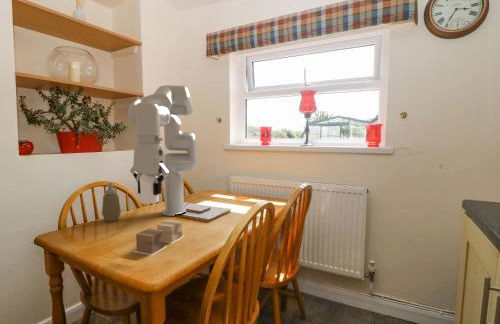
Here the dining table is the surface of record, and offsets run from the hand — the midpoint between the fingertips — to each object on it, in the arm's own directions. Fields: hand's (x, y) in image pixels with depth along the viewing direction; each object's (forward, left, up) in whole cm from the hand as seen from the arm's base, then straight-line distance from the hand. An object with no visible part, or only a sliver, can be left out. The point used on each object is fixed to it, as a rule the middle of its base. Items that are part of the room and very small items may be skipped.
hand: (149, 193), depth 95 cm
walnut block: (0, 0, -20) cm, 20 cm away
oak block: (-11, 0, -20) cm, 23 cm away
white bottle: (0, 0, -3) cm, 3 cm away
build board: (-5, 0, -21) cm, 22 cm away
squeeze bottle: (-23, -42, -21) cm, 53 cm away
